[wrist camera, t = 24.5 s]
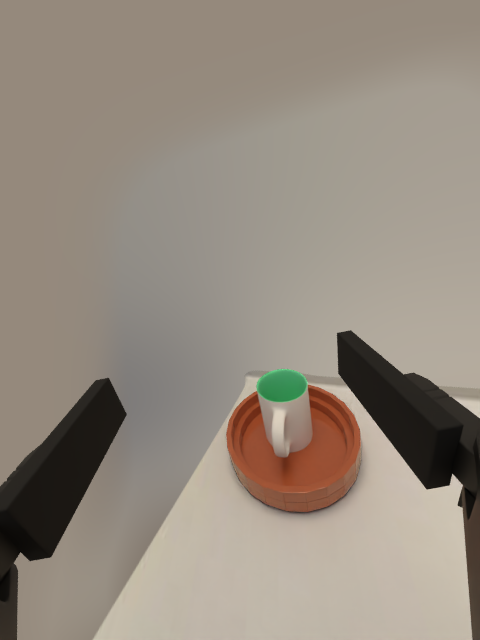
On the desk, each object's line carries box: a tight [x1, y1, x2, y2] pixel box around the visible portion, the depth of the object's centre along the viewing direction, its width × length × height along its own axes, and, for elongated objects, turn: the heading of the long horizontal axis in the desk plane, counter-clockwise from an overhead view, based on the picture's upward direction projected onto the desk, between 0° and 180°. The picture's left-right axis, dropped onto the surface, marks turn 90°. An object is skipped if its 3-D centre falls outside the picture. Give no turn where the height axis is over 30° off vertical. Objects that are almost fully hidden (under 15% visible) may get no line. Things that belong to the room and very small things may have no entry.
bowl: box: [226, 385, 361, 512], centre depth 38 cm, size 21×21×4 cm
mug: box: [257, 369, 313, 457], centre depth 37 cm, size 12×8×10 cm
